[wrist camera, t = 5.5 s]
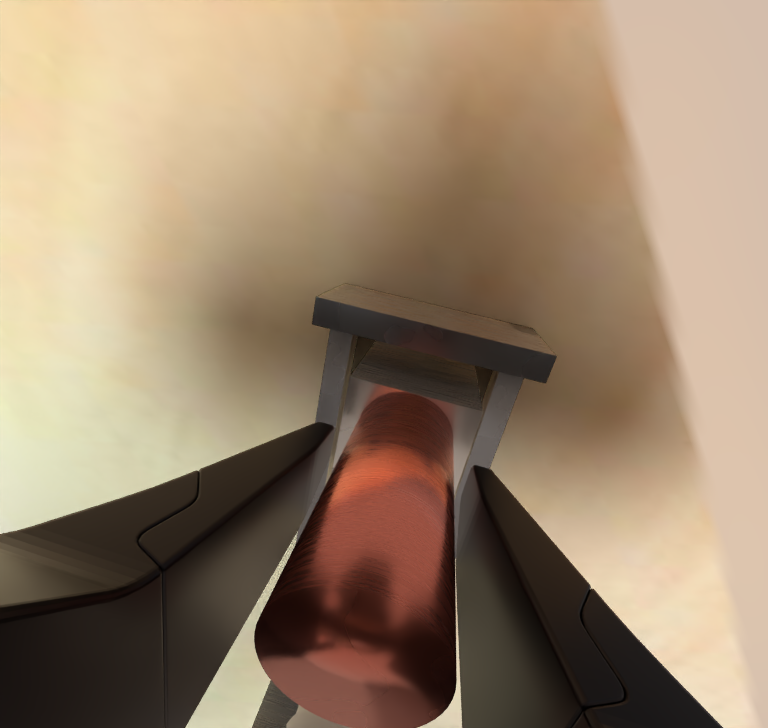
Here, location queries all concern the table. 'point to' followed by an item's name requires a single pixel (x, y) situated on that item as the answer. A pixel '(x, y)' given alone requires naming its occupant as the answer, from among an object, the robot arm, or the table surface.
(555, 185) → the table surface
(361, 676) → the ram
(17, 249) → the table surface
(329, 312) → the press bed
